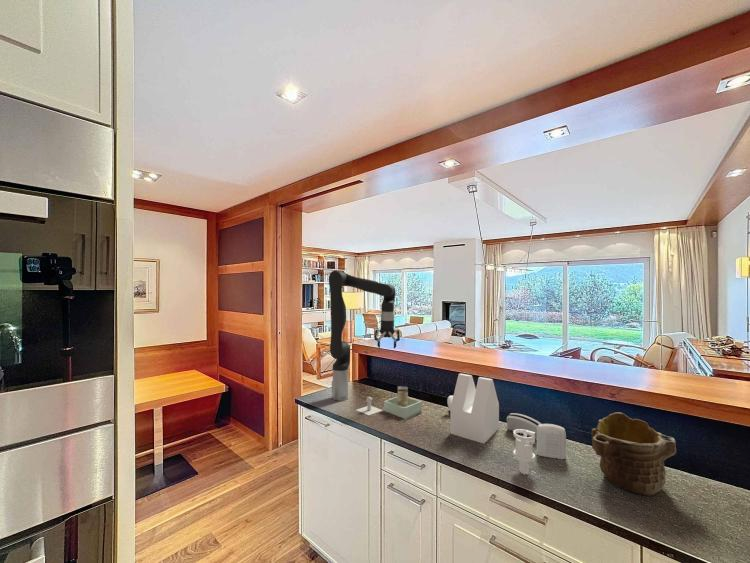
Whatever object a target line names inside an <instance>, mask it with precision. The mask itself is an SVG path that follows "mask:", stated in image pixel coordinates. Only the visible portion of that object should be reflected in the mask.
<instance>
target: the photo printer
mask: <svg viewBox="0 0 750 563" xmlns="http://www.w3.org/2000/svg"><path fill="white" fill-rule="evenodd" d="M566 445H567V434H566V429H565V428H564V427H562V426H561V425H557V424H552V423H541V424H539V425H538V428H537V440H536V455H538V456H540V457H545V458H551V459H556V458H557V459H558V460H563V459H565V458H567V457H566V454H567V452H566V450H567V446H566ZM565 460H566V459H565Z"/></svg>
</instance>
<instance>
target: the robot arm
mask: <svg viewBox="0 0 750 563" xmlns="http://www.w3.org/2000/svg"><path fill="white" fill-rule="evenodd" d="M328 286H329V294H330V343H329V352H330V355H331V357H332V358H333V359H336V360H335V361H334V363H333V364H332V381H331V398H332V400H334V401H338V402H340V401H342V402H343V401H346V400H348V399H349V365H350V363H351V346H350V344H349V343H348V342H347V341H345V340H343V339H342V337H343V336H342V335H343V331H344V328H345V325H346V321H347V307H346V303H345V300H344V298H343V287H351V288H355V289H358V290H360V291H362V292H363V291H364V292H367V293H369V294H370V293H371V294H375V295H377V296H381V297H383V301H382V302H381V312H380V329H377V328H376V329H375V330H374V340H375V341H376V342H377V348H378V349H380V348H381V340H382V339H383V338H391V339H392V341H393V349H396V348H397V342H399V341H400V340H401V339H400V330H399V329H395V312H394V311H395V300H396V287H395V286H394V285H393V284H389V283H388V284H387V283H382V282H379V281H375V280H371V279H367V278H361V277H356V276H354V275H351V274H349V273H346V272H344V271H341V270H333V271H331V272H330V273H329V275H328ZM379 333H380V336H378V334H379ZM394 334H396V337H397V338H396V337H395V335H394Z"/></svg>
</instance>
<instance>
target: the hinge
mask: <svg viewBox="0 0 750 563" xmlns="http://www.w3.org/2000/svg"><path fill="white" fill-rule="evenodd" d="M539 424H542V422H540V421H539V420H537V419H535V418H533V417H530V416H528V415H525V414H523V413H522V414H521V413H513V412H511V413H509V414H508V415H507V417H506V427H507V430H508V429H509V430H508V431H511V430H512V431H511V432H513V431H514V430H516V429H524V430H529V431H532V432H535V439H537V428H538V425H539ZM521 434H523V435H522V436H524V433H520V435H521ZM527 436H529V437H532V436H531V435H529V434H527Z"/></svg>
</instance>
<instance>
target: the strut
mask: <svg viewBox="0 0 750 563" xmlns="http://www.w3.org/2000/svg"><path fill="white" fill-rule="evenodd" d="M397 396H398V406H401V407H407V406H408V397H409V389H408V386H398V385H397Z"/></svg>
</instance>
